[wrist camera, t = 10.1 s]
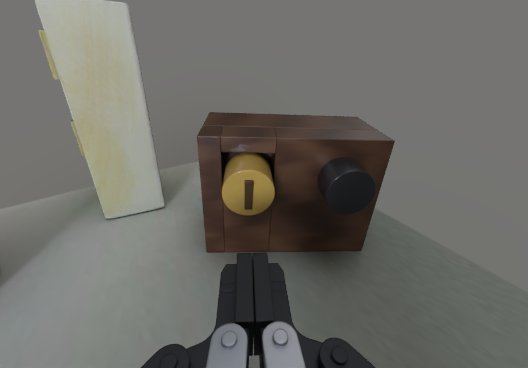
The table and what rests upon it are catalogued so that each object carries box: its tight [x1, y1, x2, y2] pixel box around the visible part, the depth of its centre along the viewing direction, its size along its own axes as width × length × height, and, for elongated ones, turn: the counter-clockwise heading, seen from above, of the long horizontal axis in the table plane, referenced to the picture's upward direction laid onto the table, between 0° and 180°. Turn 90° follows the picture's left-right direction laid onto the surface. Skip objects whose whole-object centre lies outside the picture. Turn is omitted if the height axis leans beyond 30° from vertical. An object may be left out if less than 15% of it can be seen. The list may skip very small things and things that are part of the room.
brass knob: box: [222, 152, 275, 215], centre depth 20 cm, size 4×4×4 cm
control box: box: [197, 112, 395, 252], centre depth 25 cm, size 16×11×12 cm
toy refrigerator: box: [35, 0, 165, 219], centre depth 28 cm, size 8×7×21 cm
